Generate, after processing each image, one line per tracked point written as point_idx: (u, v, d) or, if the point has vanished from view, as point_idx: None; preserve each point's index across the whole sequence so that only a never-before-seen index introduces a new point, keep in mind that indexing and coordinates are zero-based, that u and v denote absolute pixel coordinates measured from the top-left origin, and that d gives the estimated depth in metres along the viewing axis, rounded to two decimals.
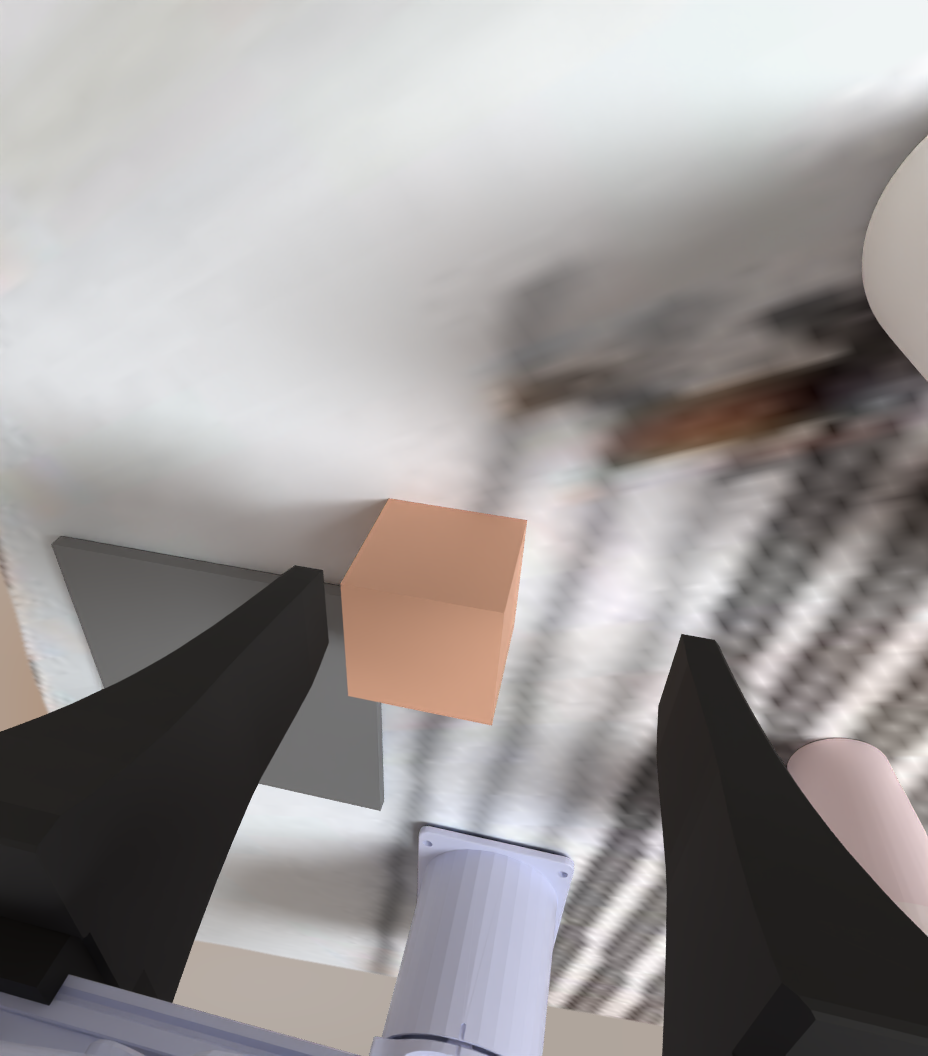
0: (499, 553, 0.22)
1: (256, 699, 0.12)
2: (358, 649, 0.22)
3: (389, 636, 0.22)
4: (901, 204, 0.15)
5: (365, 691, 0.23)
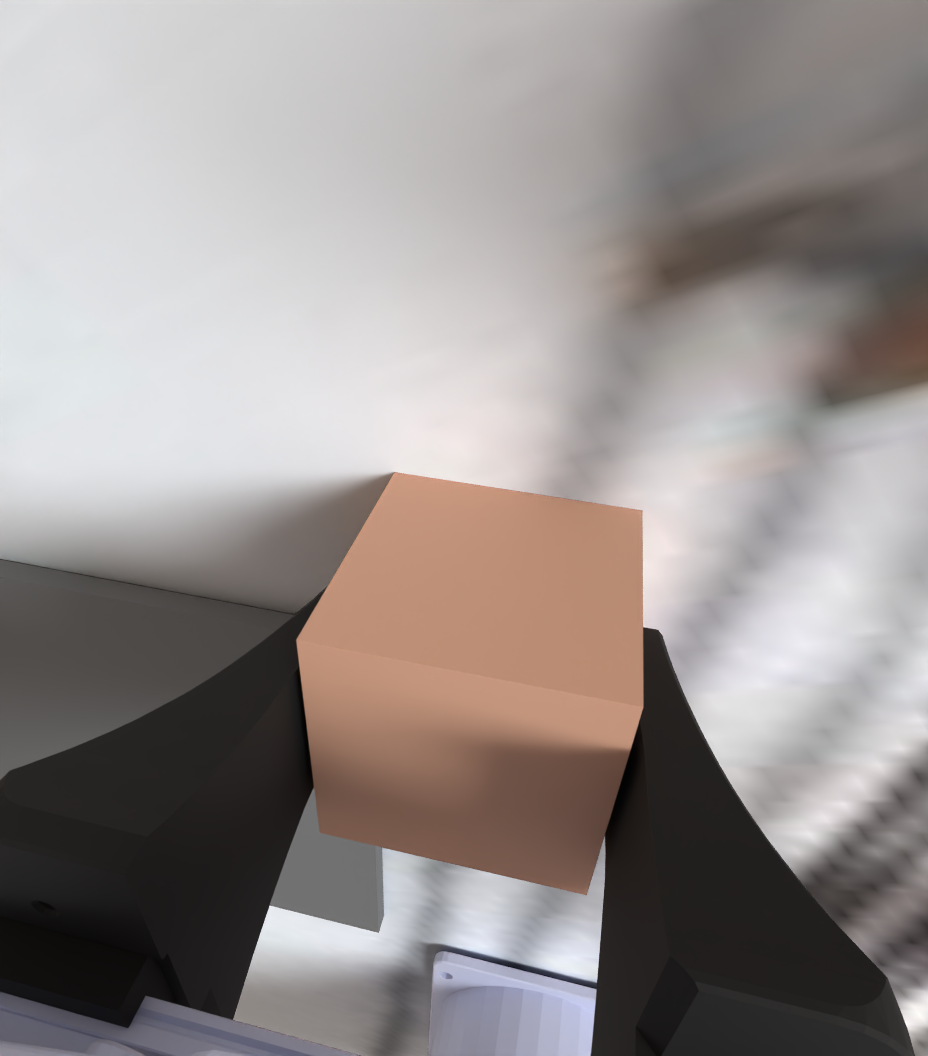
0: (605, 574, 0.12)
1: None
2: (336, 760, 0.12)
3: (395, 739, 0.11)
4: None
5: (352, 827, 0.13)
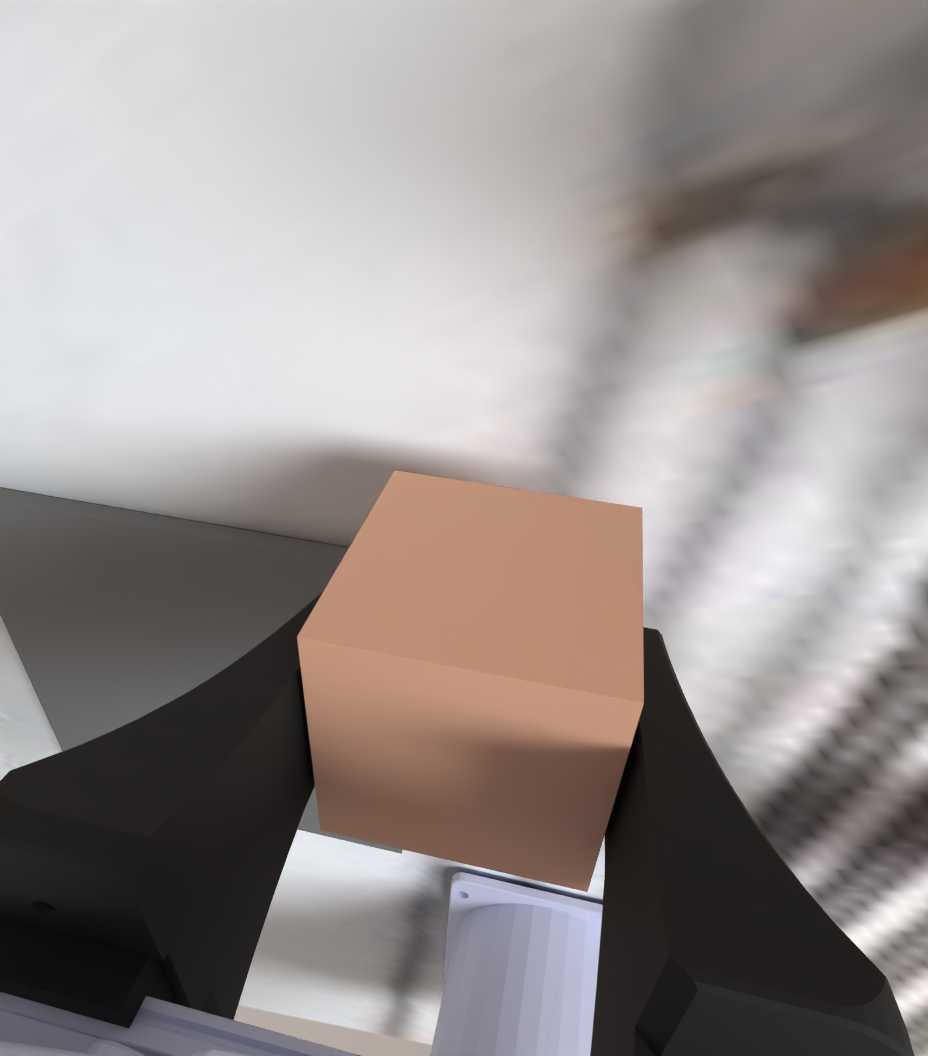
0: (605, 571, 0.12)
1: None
2: (336, 757, 0.12)
3: (396, 736, 0.11)
4: None
5: (352, 826, 0.13)
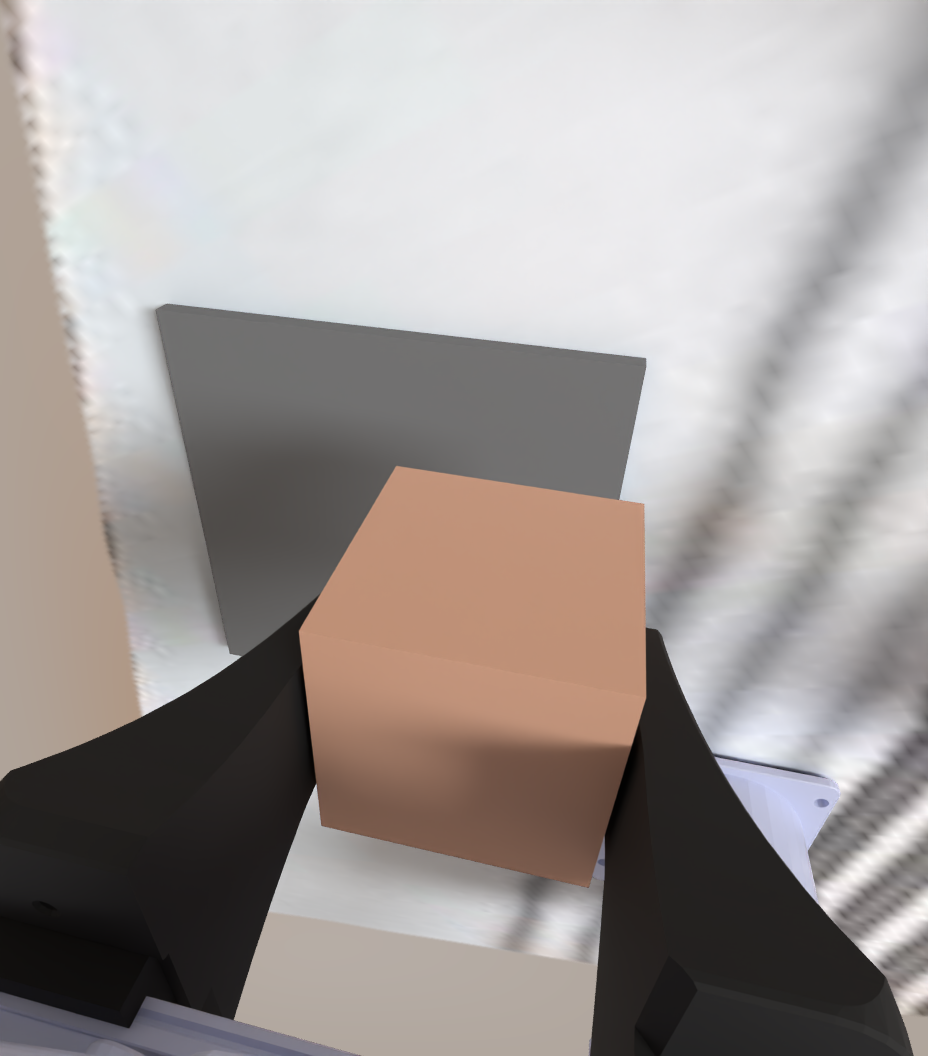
0: (608, 566, 0.12)
1: None
2: (337, 752, 0.12)
3: (398, 731, 0.11)
4: None
5: (353, 821, 0.13)
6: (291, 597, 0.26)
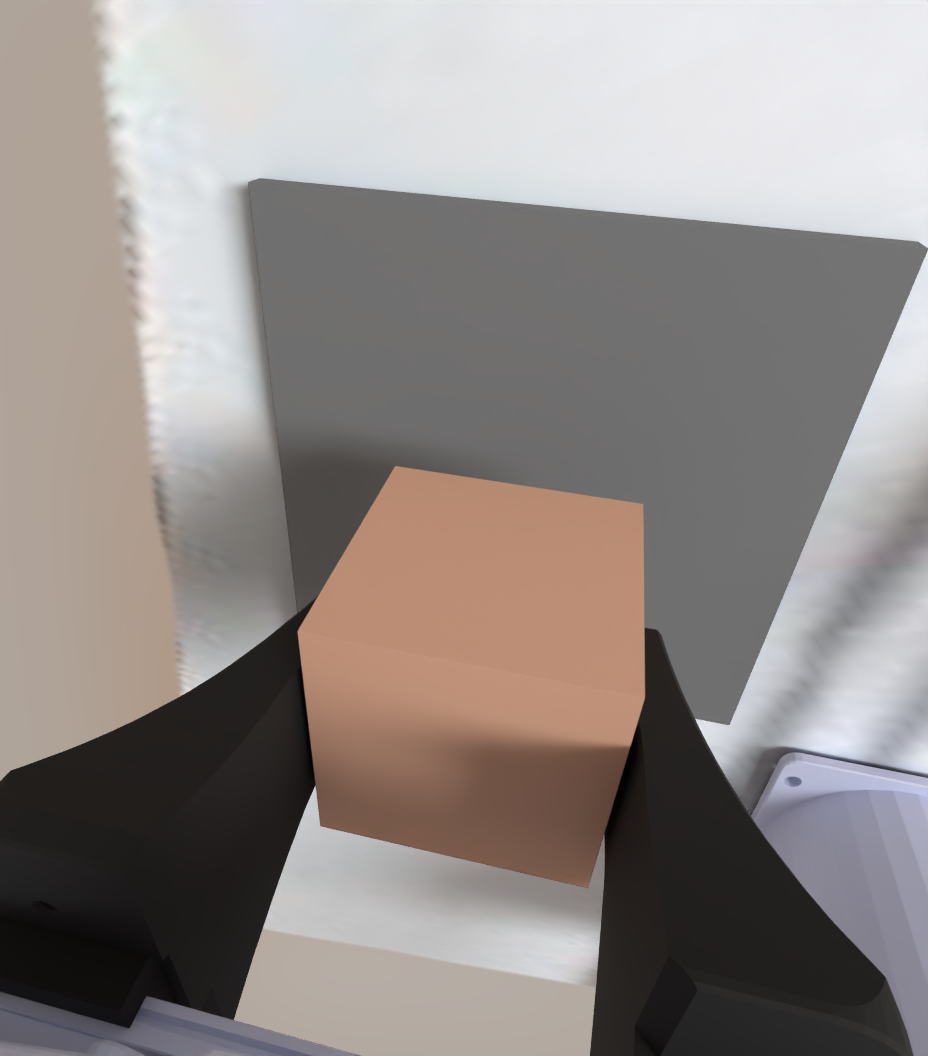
0: (606, 566, 0.12)
1: None
2: (337, 752, 0.12)
3: (396, 731, 0.11)
4: None
5: (353, 821, 0.13)
6: None
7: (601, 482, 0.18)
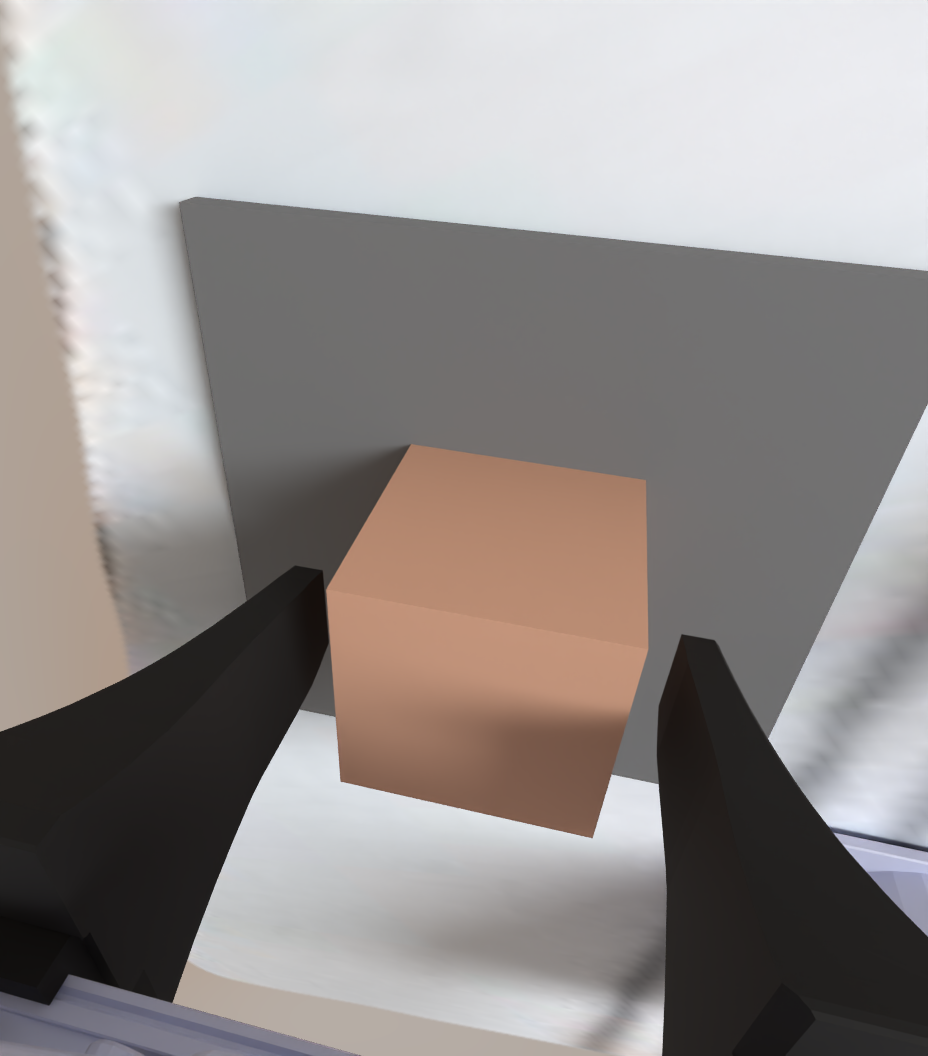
0: (612, 535, 0.12)
1: (256, 699, 0.12)
2: (358, 708, 0.12)
3: (416, 686, 0.12)
4: None
5: (371, 776, 0.13)
6: None
7: None
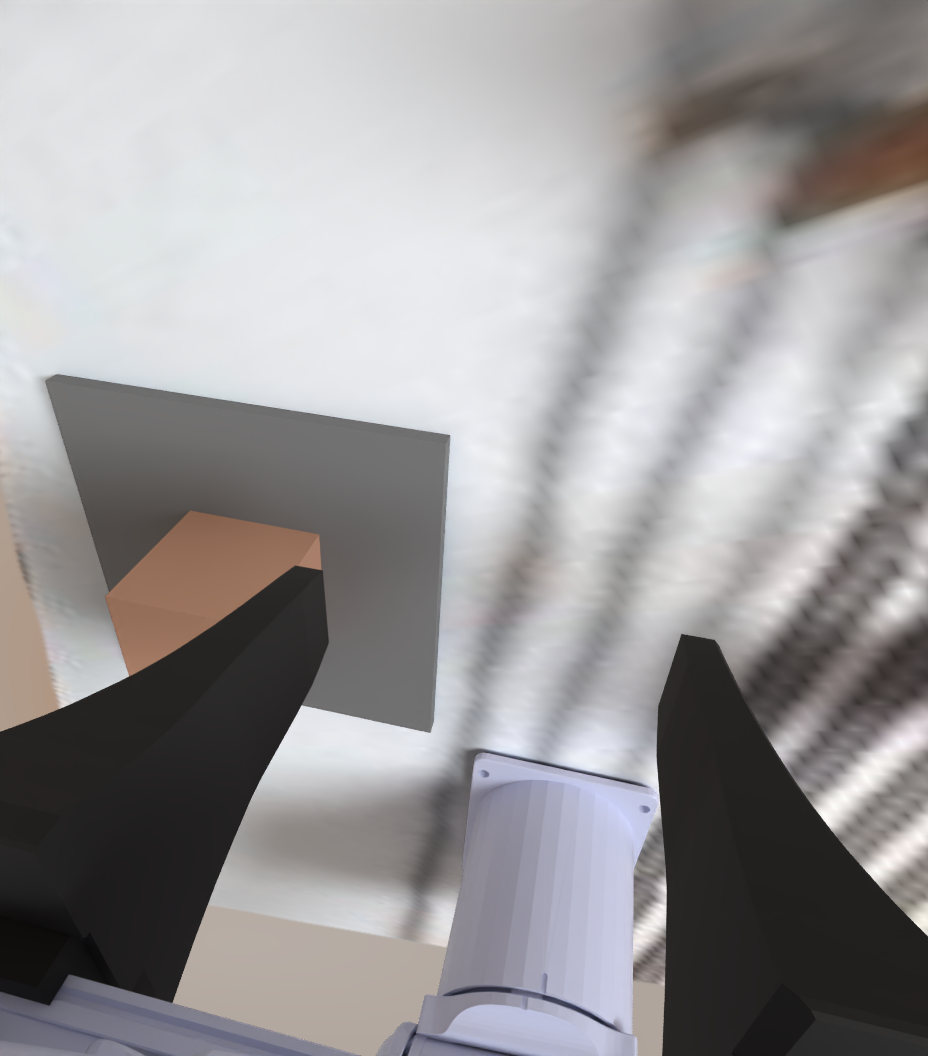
0: (276, 568, 0.23)
1: (256, 699, 0.12)
2: (136, 660, 0.23)
3: (160, 647, 0.22)
4: None
5: None
6: None
7: None
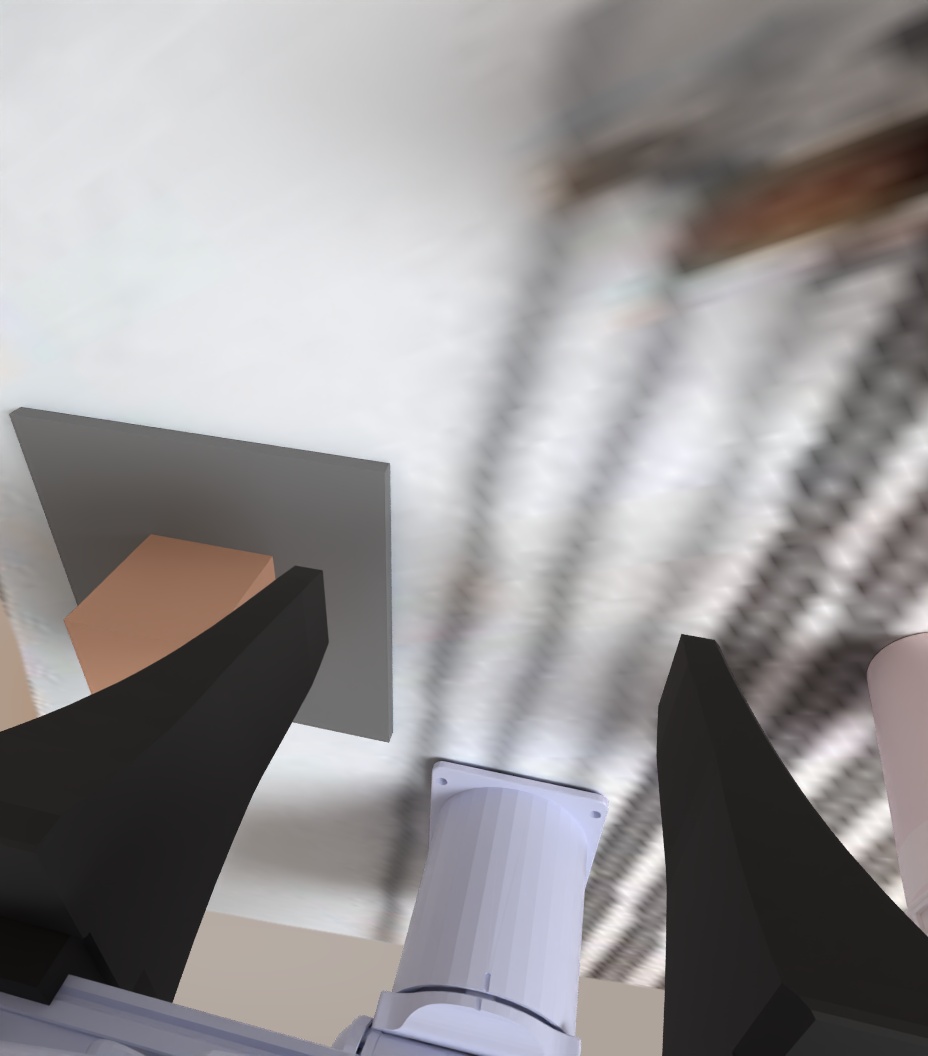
0: (228, 590, 0.24)
1: (256, 699, 0.12)
2: (96, 679, 0.24)
3: (118, 667, 0.23)
4: None
5: None
6: None
7: None
